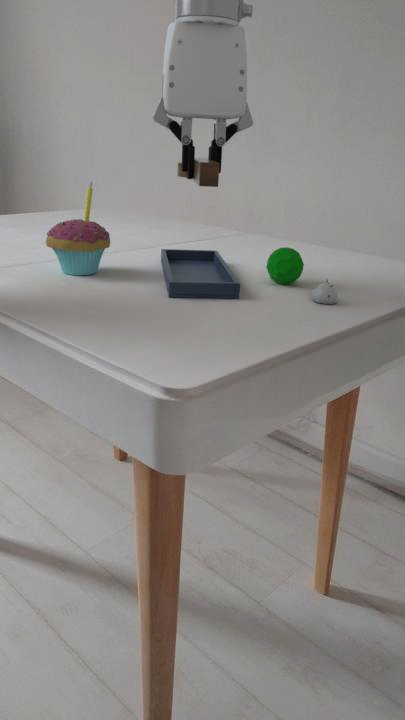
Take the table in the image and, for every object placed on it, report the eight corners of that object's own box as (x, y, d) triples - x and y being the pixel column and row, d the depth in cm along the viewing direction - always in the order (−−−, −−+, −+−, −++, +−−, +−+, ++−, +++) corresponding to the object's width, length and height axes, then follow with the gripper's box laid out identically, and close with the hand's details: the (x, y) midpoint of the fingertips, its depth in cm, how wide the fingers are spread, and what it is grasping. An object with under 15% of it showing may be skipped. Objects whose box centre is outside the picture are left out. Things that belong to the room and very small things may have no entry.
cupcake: (95, 263, 84) (93, 178, 79) (121, 275, 77) (121, 184, 73) (39, 268, 79) (33, 178, 75) (61, 281, 73) (57, 185, 68)
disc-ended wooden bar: (176, 174, 80) (176, 155, 79) (212, 176, 81) (213, 156, 80) (186, 185, 64) (186, 161, 63) (231, 187, 65) (232, 163, 64)
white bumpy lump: (330, 297, 72) (333, 277, 71) (343, 306, 69) (346, 285, 68) (307, 297, 72) (309, 277, 71) (318, 306, 68) (321, 285, 67)
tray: (168, 297, 68) (169, 282, 68) (161, 261, 87) (161, 248, 87) (239, 298, 69) (240, 283, 69) (216, 262, 88) (217, 250, 88)
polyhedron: (257, 280, 78) (260, 246, 77) (282, 277, 81) (286, 244, 79) (283, 289, 75) (287, 253, 73) (308, 285, 78) (312, 250, 76)
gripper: (268, 23, 70) (256, 178, 77) (138, 14, 68) (138, 174, 75) (282, 12, 63) (268, 183, 70) (138, 1, 61) (138, 178, 68)
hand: (200, 177), depth 72 cm, fingers closed on disc-ended wooden bar, 2 cm apart
